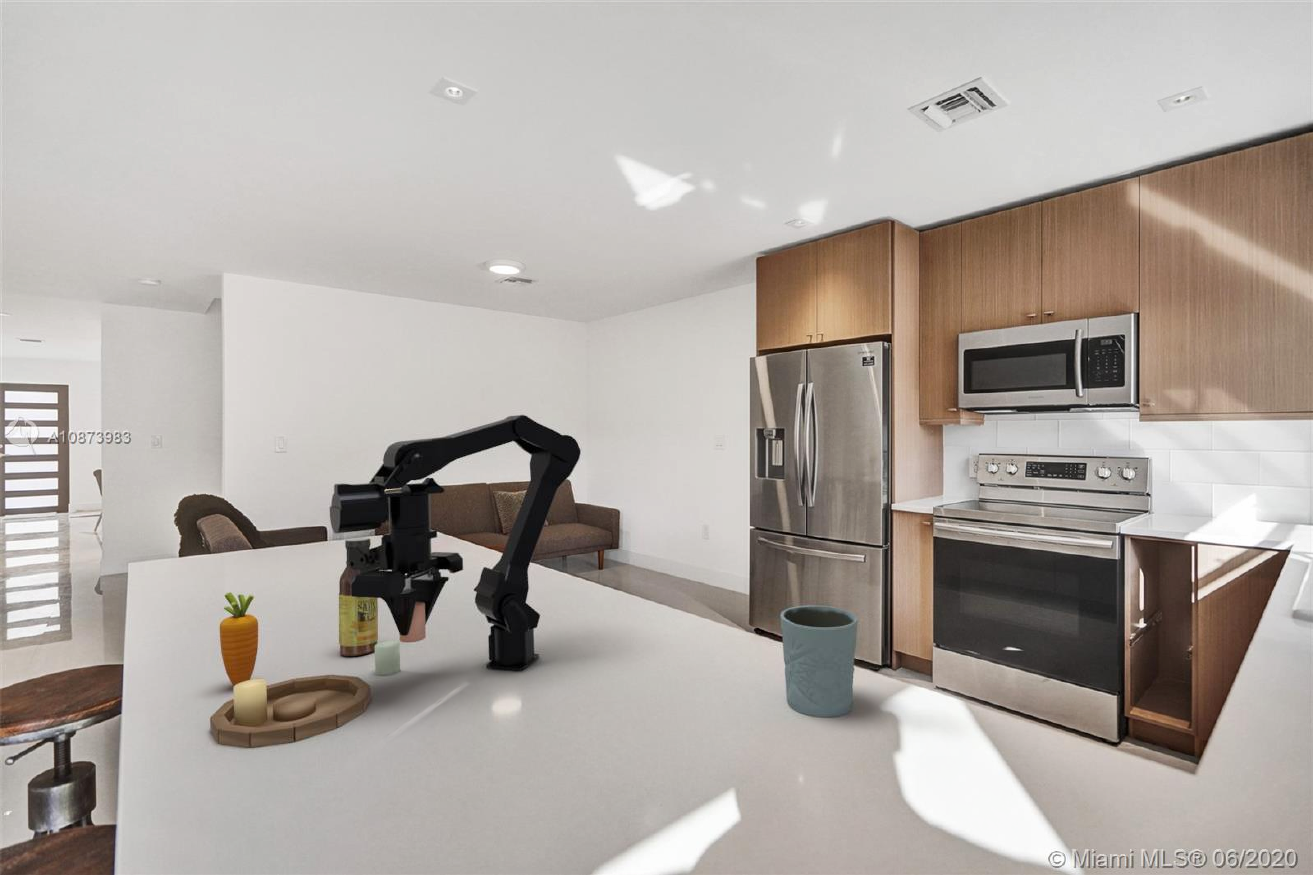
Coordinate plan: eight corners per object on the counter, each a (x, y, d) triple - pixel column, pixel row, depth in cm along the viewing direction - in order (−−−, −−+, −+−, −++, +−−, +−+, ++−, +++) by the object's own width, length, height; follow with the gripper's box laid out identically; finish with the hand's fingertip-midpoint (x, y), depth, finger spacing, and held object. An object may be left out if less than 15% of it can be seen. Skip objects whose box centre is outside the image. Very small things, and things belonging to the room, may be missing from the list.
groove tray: (396, 697, 91) (396, 680, 91) (294, 760, 74) (294, 739, 74) (295, 687, 96) (294, 671, 96) (177, 744, 79) (176, 724, 79)
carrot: (267, 688, 96) (265, 589, 96) (234, 701, 92) (231, 597, 92) (246, 683, 98) (244, 586, 98) (213, 695, 94) (210, 594, 94)
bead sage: (405, 672, 101) (404, 641, 101) (390, 681, 98) (389, 649, 98) (386, 671, 102) (385, 640, 102) (370, 679, 99) (369, 647, 99)
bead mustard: (274, 717, 84) (272, 680, 84) (249, 730, 80) (248, 690, 80) (252, 715, 85) (251, 678, 85) (227, 727, 81) (226, 688, 81)
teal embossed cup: (808, 683, 92) (806, 601, 92) (874, 703, 85) (871, 613, 85) (767, 705, 85) (765, 616, 85) (835, 728, 78) (832, 631, 78)
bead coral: (430, 635, 95) (429, 602, 95) (415, 643, 92) (414, 608, 92) (410, 634, 96) (409, 601, 96) (394, 641, 92) (393, 607, 92)
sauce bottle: (363, 658, 108) (359, 542, 108) (331, 657, 109) (327, 542, 109) (386, 646, 115) (383, 536, 115) (356, 644, 116) (353, 536, 116)
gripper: (404, 517, 105) (406, 611, 105) (316, 534, 87) (318, 648, 87) (463, 517, 102) (466, 614, 102) (385, 536, 84) (388, 653, 84)
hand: (412, 631), depth 94 cm, fingers closed on bead coral, 4 cm apart
